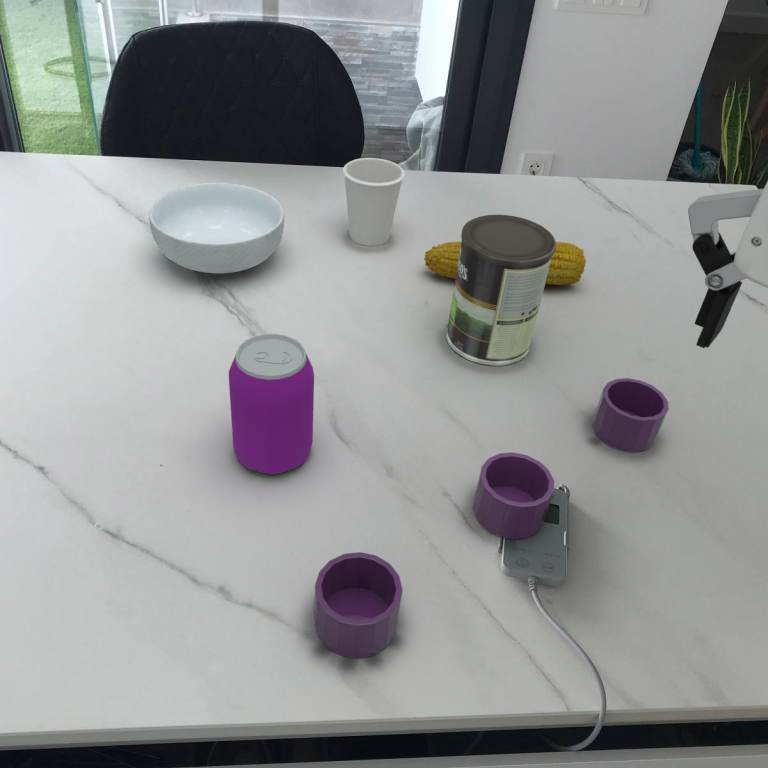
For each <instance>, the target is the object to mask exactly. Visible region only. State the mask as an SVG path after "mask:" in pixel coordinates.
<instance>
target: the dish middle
mask: <svg viewBox="0 0 768 768" xmlns="http://www.w3.org/2000/svg"><path fill="white" fill-rule="evenodd" d="M554 492H555V479H554V477H553V475H552V473H551V471H550V469H549V468H547V466H545V465H544V464H543V463H542V462H541V461H539V460H538V459H536V458H534V457H532V456H529V455H528V454H523V453H519V452H514V451H513V452H510V451H509V452H500V453H497V454H494V455H492V456H491V457H489V458H488V459H486V461H484V463H483V464H482V465H481V467H480V472H479V476H478V481H477V486H476V490H475V495H474V500H473V508H472V509H473V514H474V516H475V519H476V520H477V522H478V523H479V525H480V526H482V527H483V528H484V529H485V530H486V531H487V532H489V533H490V534H492V535H494V536H496V537H499V538H503V539H507V540H524V539H527V538H530V537H533V536H534V535H536V534H537V533H538V532H539V531H540V530H541V528H542V527H543V524H544V522H545V520H546V517H547V514H548V511H549V507H550V505H551V501H552V499H553V495H554Z"/></svg>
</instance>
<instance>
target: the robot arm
mask: <svg viewBox="0 0 768 768" xmlns="http://www.w3.org/2000/svg"><path fill="white" fill-rule="evenodd" d="M687 214H688V215H687V216H688V220H689V227H690V232H691V233H690V234H691V236H692V239H693V243H692V247H691V249H692V251H693V253H694V256H695V258H696V259H697V261H698V263H699V265H700V267H701V269H702V271H703V273H704V275H705V279H704V283H705V285H706V287H707V291H706V293H705V296H704V298H703V300H702V303H701V306H700V309H699V311H698V314H697V316H696V318H695V321H694V325H696V326H699V327H700V328H702V329H701V331H700V334H699V336H698V339H697V341H696V344H695V345H696V346H698V347H700V348H702V349H705V348H708V349H709V348H710V347H711V345H712V344H713V342H714V341H715V340H716V338H717V337H718V336H719V335H720V333H721V331H722V330H723V328H724V326H725V324H726V322H727V319H728V316H729V315H730V312H731V310H732V307H733V305H734V302H735V300H736V298H737V296H738V294H739V291H740V289H741V287H742V284H743V280H746V279H747V280H749V281H751V282H753V283H755V284H757V285H759V286H761V287H764V288H766V289H768V180H767V181H766V184H765V186H764V188H758V189H750V190H741V191H734V192H726V193H720V194H712V195H705V196H704V195H703V196H700V197H698V198H696V200H694V201H693V202H692V203H690V205H689V207H688V209H687ZM742 218H749V219H748V222H747V224H746V226H745V228H744V230H743V232H742V235H741V238H740V240H739V242H738V245H737V248H736V250H735V251H733V252H730V250H729V248H728V246H727V244H726V242H725V240H724V239H723V236H722V235H721V233H720V231H719V221H723V220H733V219H742Z"/></svg>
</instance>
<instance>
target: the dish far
mask: <svg viewBox="0 0 768 768" xmlns="http://www.w3.org/2000/svg"><path fill="white" fill-rule="evenodd" d="M598 400H599V401H598V403H597V406H596V409H595V412H594V416H593V420H592V428H593V431H594V433H595V434H596V436H597V438H599V440H601V441H602V442H603V443H605V444H606V445H608V446H609V447H612V448H613V449H616V450H618V451H622V452H627V453H639V452H641V453H642V452H644V451H647V450H648V449H650V448H652V447H653V446H654V444H655V442H656V440H657V438H658V436H659V433H660V431H661V429H662V427H663V424H664V422H665V419H666V417H667V414H668V412H669V409H670V408H669V401H668V399H667V397H666V396H665V395H664V393H663V392H662V391H661V390H659V389H658V388H656V386H654V385H652V384H650V383H649V382H648V383H647V382H645V381H643V380H640V379H634V378H630V377H624V378H616V379H613V380H611V381H608V382H607V383H606V384H605V386H604V387H603V389H602V392H601V395H600V397H599V399H598Z"/></svg>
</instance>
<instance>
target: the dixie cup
mask: <svg viewBox="0 0 768 768" xmlns="http://www.w3.org/2000/svg"><path fill="white" fill-rule="evenodd" d="M342 174H343V175H344V182H345V183H344V184H345V195H346V207H347V208H346V209H347V220H348V232H349V234H348V235H349V239H350V240H352V242H354V243H356V244H358V245H360V246H361V245H362V246H364V247H365V246H366V247H377V246H382V245H384V244H386V243H387V242H388V241H389V240H390V236H391V230H392V227H393V222H394V218H395V214H396V209H397V204H398V200H399V195H400V192H401V186H402V182H403V180H404V178H405V177H406V176H405V175H406V173H405V171H404V169H403V168H402V167H401V165H399V164H397V163H395V162H393V161H391V160H388V159H384V158H377V157H361V158H356V159H353V160H351V161H348V162H347V163H346V164H344V166H343V168H342Z"/></svg>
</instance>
